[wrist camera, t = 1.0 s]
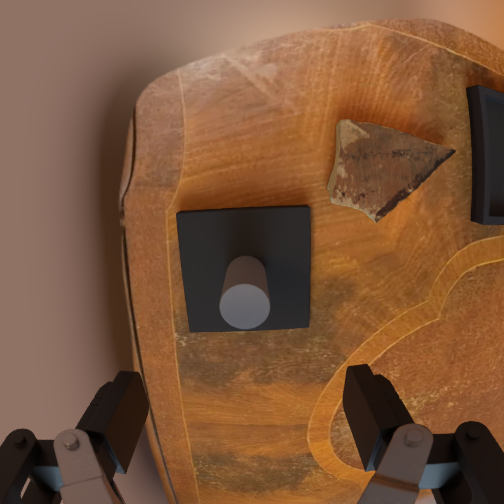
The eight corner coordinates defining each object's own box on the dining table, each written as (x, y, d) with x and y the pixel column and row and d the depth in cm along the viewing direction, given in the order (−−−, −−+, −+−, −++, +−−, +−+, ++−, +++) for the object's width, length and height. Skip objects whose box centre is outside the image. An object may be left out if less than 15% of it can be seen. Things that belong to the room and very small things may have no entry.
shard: (447, 150, 22) (458, 150, 21) (433, 233, 24) (444, 237, 23) (336, 117, 22) (343, 113, 20) (322, 211, 24) (327, 215, 22)
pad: (179, 211, 24) (151, 227, 17) (307, 204, 24) (330, 219, 17) (192, 325, 26) (175, 374, 19) (306, 321, 26) (323, 369, 19)
